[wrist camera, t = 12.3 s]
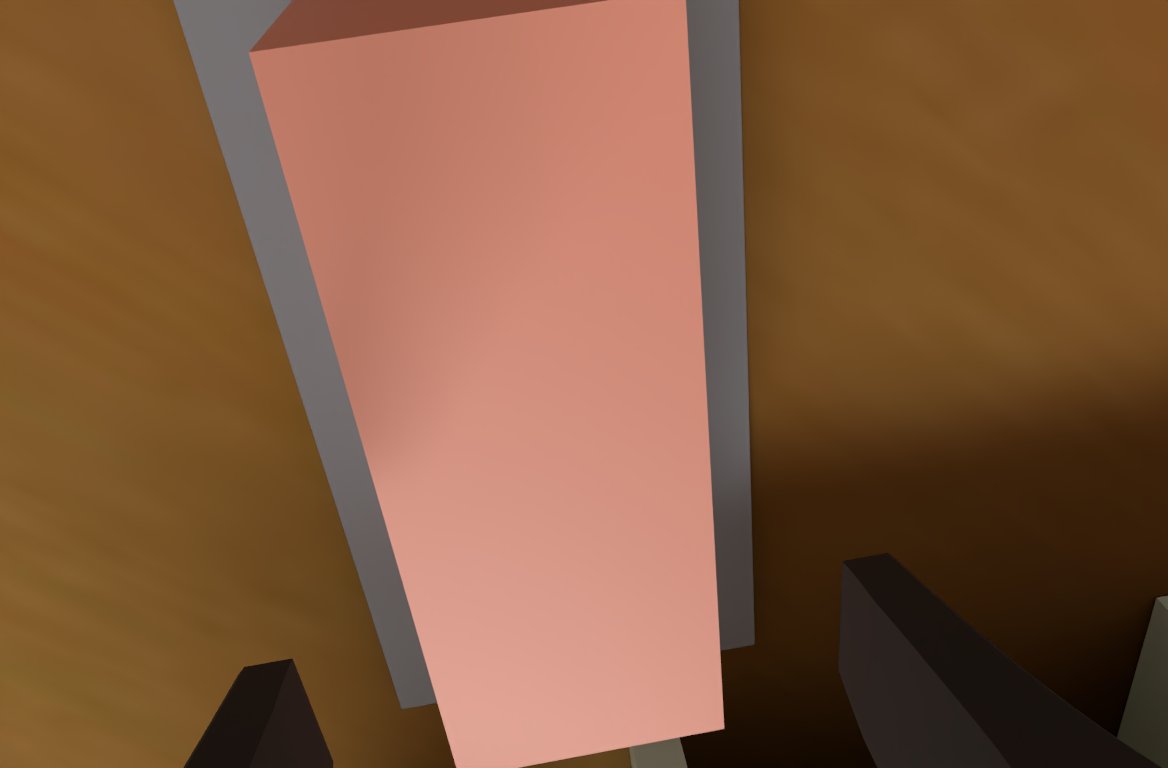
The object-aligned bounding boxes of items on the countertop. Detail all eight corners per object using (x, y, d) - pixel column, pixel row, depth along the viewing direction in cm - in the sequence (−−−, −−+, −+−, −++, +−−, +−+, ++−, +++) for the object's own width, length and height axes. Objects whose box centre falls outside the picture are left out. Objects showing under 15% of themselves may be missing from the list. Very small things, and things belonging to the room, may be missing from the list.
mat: (727, -177, 15) (734, -177, 14) (750, 633, 24) (755, 644, 24) (149, -99, 14) (141, -98, 14) (402, 696, 24) (401, 709, 23)
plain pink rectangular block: (615, -57, 15) (685, -11, 11) (668, 552, 22) (724, 728, 18) (303, -13, 15) (248, 52, 10) (455, 590, 22) (459, 778, 17)
